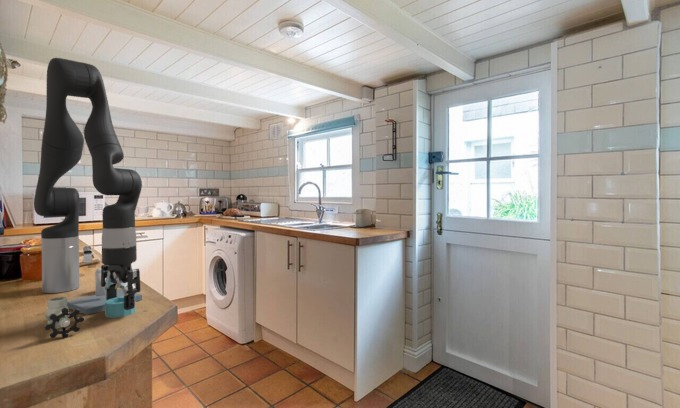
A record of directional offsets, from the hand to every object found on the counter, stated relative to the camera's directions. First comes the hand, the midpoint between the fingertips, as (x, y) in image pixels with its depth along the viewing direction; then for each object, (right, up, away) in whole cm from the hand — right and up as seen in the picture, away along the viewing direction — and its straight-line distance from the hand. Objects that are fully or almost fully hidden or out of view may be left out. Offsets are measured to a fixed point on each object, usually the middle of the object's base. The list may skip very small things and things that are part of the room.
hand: (120, 306), depth 85 cm
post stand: (-10, -2, +7) cm, 12 cm away
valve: (-6, -2, -11) cm, 13 cm away
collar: (0, -2, 0) cm, 2 cm away
